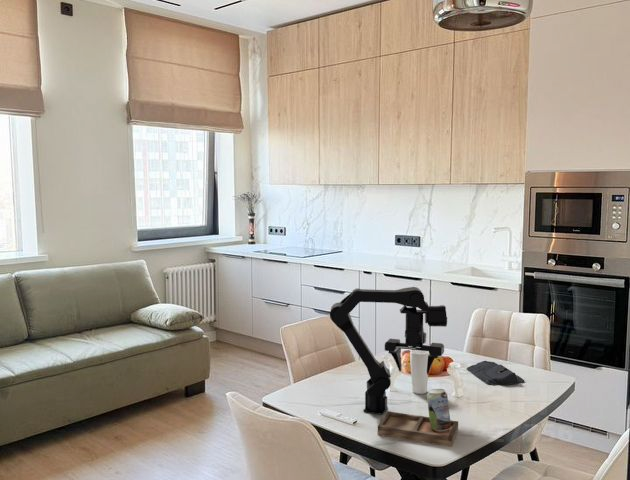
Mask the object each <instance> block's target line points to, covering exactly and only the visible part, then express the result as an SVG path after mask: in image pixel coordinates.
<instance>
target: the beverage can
mask: <svg viewBox="0 0 630 480" xmlns="http://www.w3.org/2000/svg"><path fill="white" fill-rule="evenodd" d="M448 399H449V398H448V393H447V392H446V390H445V389H443V388H432V389H429V390H427V394H426V400H427V401H426V402H427V409H428V417H429V418H430V427H431V428H432V429H433V430H434V431H446V430H448V429H449V428H450V427H451V422H450V420H451V414H450V407H449V400H448Z"/></svg>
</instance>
